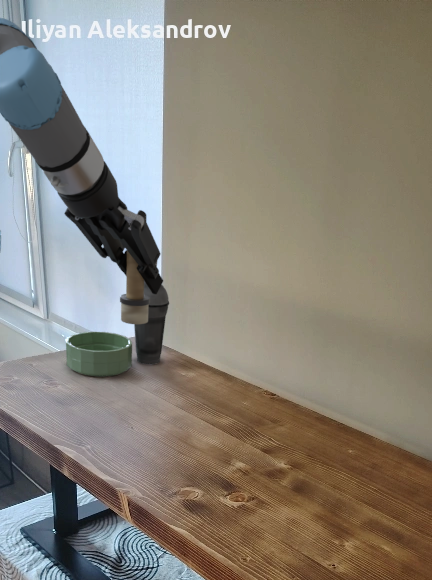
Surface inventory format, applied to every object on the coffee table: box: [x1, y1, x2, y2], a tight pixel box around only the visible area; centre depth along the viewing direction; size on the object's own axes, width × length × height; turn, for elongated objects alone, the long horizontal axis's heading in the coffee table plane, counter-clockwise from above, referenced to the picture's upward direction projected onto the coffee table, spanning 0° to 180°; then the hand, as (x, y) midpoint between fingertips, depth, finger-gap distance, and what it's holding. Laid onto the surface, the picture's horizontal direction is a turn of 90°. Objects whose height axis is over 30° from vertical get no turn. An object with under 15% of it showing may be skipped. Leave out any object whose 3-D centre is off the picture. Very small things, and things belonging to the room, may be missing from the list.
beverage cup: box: [133, 261, 170, 365], centre depth 119 cm, size 7×7×20 cm
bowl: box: [65, 331, 133, 377], centre depth 117 cm, size 12×12×5 cm
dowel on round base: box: [119, 251, 150, 325], centre depth 99 cm, size 5×5×15 cm
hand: (149, 285), depth 103 cm, fingers closed on dowel on round base, 3 cm apart
